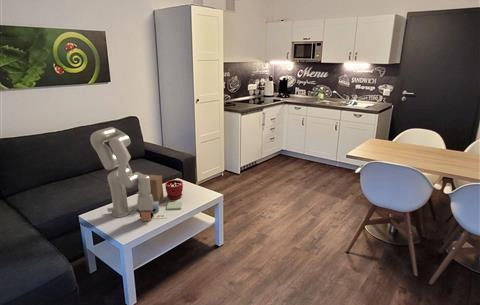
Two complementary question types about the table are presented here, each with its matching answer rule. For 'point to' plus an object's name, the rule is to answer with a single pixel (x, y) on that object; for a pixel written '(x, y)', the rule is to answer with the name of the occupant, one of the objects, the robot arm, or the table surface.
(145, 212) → the brick terracotta
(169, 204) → the build plate
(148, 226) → the table surface
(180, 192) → the plant pot
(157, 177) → the wooden block
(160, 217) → the page
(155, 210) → the brick teal
